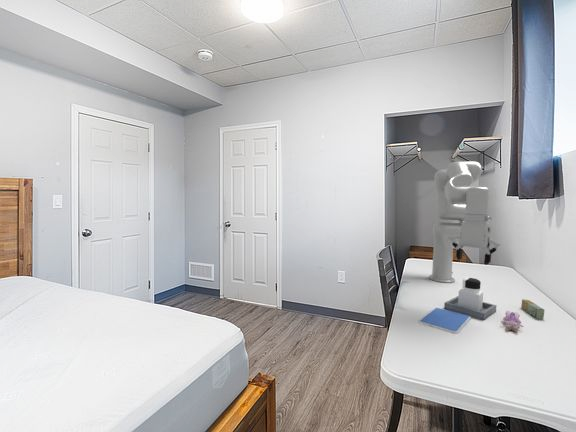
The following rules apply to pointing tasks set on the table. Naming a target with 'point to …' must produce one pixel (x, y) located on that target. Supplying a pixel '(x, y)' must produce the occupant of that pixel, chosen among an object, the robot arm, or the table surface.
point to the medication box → (532, 309)
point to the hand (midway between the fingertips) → (472, 261)
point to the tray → (482, 314)
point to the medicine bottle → (471, 294)
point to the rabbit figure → (512, 321)
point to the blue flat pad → (445, 320)
